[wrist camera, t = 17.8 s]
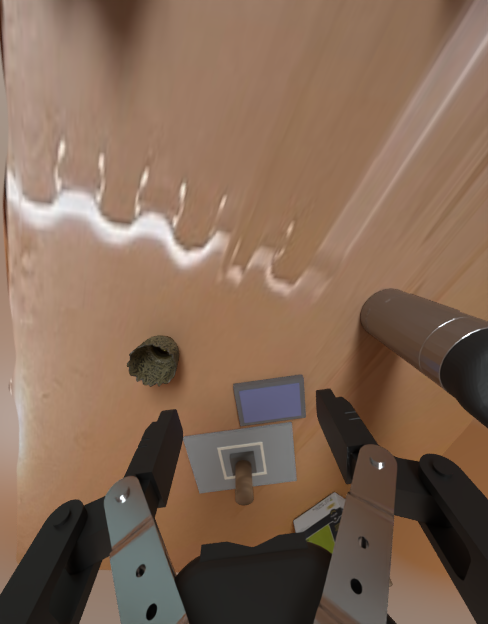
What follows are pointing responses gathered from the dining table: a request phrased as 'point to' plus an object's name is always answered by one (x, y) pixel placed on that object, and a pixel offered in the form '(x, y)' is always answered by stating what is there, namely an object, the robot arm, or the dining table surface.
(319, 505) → the tea box
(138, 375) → the cup
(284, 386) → the ink pad
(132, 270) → the dining table surface
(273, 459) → the board
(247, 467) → the stamp
